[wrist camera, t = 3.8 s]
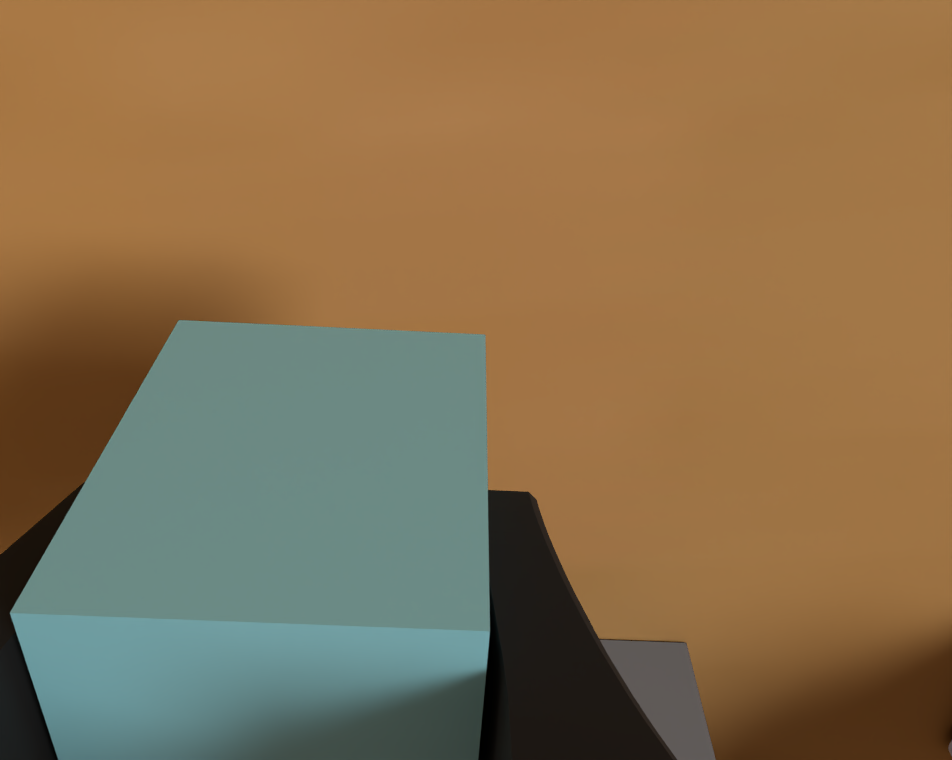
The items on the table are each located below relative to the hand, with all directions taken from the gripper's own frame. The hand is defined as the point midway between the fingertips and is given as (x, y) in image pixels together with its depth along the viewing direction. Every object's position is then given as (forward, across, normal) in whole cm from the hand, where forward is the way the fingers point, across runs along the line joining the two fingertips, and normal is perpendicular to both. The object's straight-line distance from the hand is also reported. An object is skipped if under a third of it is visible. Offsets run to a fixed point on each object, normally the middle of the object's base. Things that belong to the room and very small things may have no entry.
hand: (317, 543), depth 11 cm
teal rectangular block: (+2, 0, 0) cm, 2 cm away
